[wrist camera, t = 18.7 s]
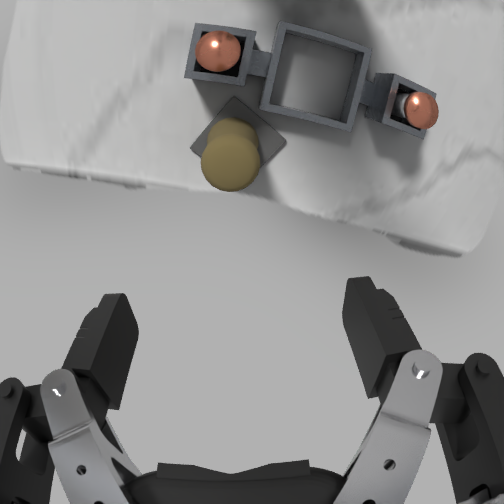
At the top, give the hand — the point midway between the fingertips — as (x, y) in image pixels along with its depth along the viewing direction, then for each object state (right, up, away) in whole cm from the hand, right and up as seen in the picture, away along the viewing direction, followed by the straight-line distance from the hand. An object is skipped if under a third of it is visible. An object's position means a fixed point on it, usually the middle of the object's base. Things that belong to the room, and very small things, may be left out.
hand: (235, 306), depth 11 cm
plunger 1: (-3, +23, +18) cm, 29 cm away
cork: (-2, +15, +23) cm, 28 cm away
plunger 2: (+18, +20, +20) cm, 34 cm away
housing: (+8, +22, +20) cm, 31 cm away
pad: (-1, +15, +24) cm, 28 cm away
